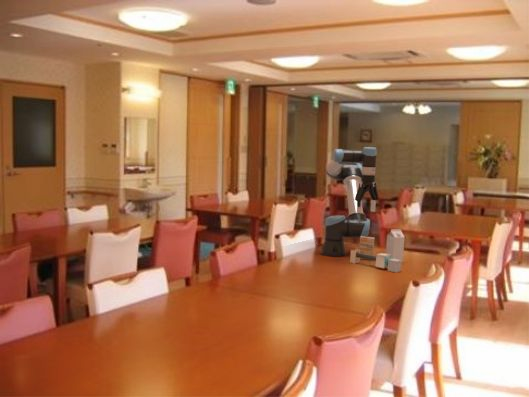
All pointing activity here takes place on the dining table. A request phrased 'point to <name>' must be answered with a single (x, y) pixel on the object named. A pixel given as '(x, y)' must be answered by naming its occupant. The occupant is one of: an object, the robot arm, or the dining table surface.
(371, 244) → the supplement box
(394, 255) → the milk carton
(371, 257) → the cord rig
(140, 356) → the dining table surface
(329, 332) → the dining table surface
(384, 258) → the sleeve
